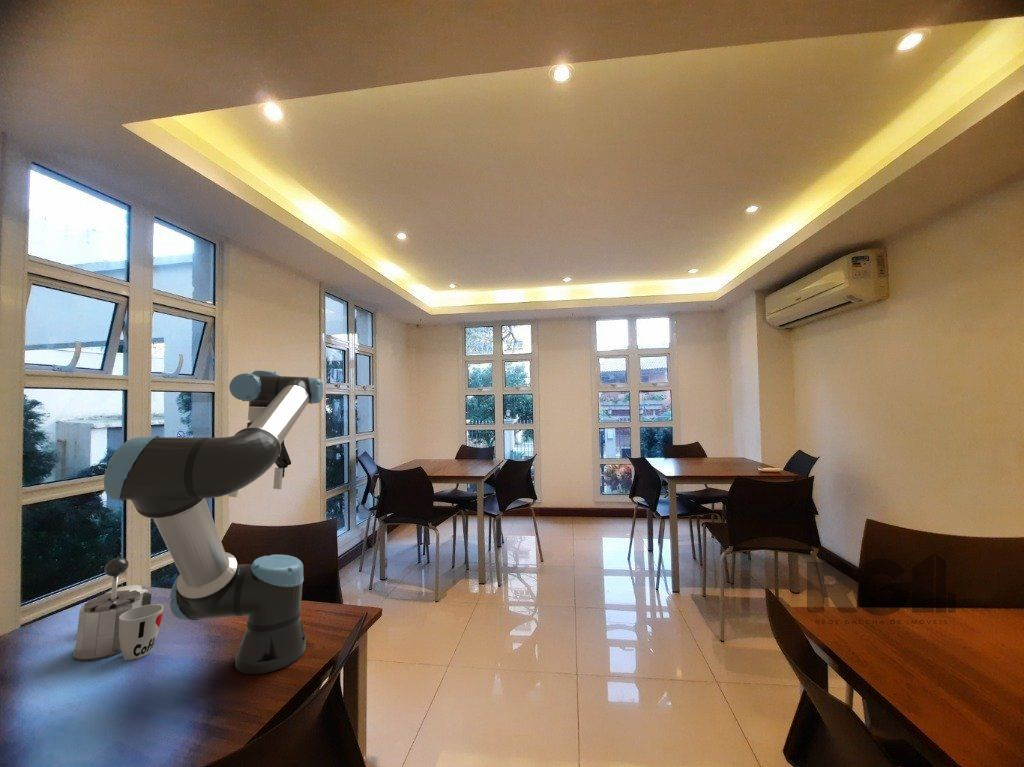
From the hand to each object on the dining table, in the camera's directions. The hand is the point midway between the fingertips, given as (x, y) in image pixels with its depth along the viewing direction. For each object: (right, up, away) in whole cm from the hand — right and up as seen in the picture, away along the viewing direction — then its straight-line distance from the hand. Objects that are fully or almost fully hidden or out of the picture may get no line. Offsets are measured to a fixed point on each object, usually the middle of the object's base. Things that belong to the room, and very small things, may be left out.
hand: (256, 492), depth 117 cm
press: (-26, -35, -17) cm, 47 cm away
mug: (-34, -35, -7) cm, 49 cm away
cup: (-17, -35, -20) cm, 43 cm away
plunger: (-26, -33, -17) cm, 46 cm away
